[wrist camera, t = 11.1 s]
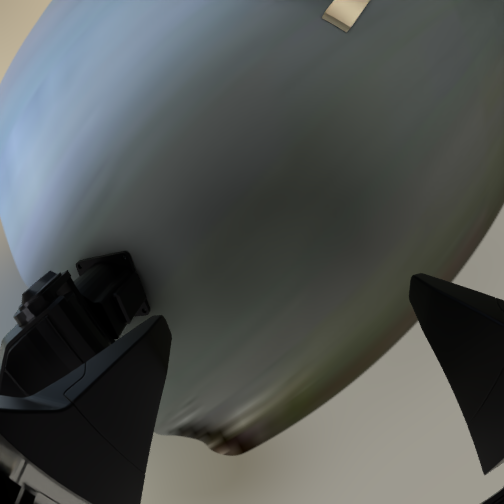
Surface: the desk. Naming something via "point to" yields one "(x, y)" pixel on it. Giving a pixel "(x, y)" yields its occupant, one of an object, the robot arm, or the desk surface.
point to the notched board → (344, 12)
